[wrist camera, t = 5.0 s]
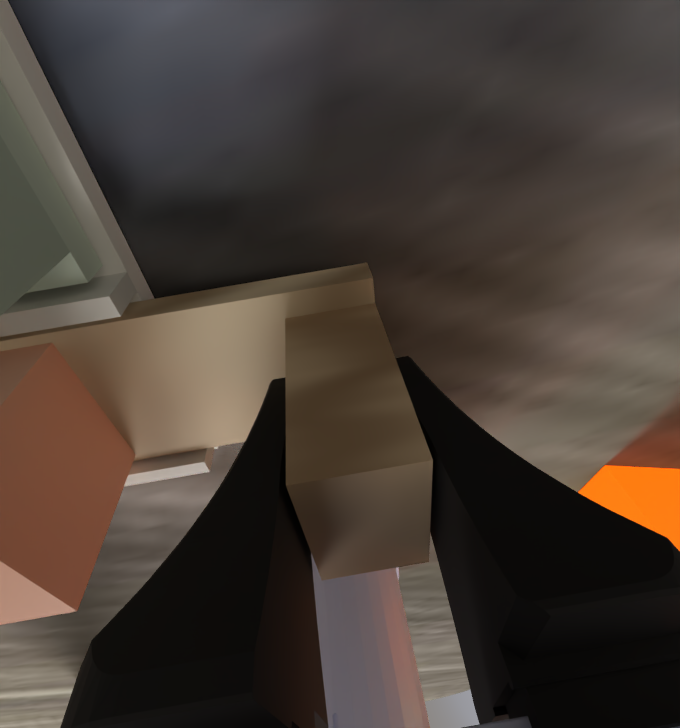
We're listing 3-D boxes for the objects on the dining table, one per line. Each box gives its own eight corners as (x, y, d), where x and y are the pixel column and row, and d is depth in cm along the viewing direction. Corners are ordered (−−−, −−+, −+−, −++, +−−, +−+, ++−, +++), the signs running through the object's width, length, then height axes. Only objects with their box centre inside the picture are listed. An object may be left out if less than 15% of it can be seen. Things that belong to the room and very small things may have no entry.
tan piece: (367, 262, 11) (434, 429, 6) (379, 398, 15) (428, 575, 10) (-109, 343, 11) (-435, 580, 6) (17, 461, 15) (-123, 673, 10)
